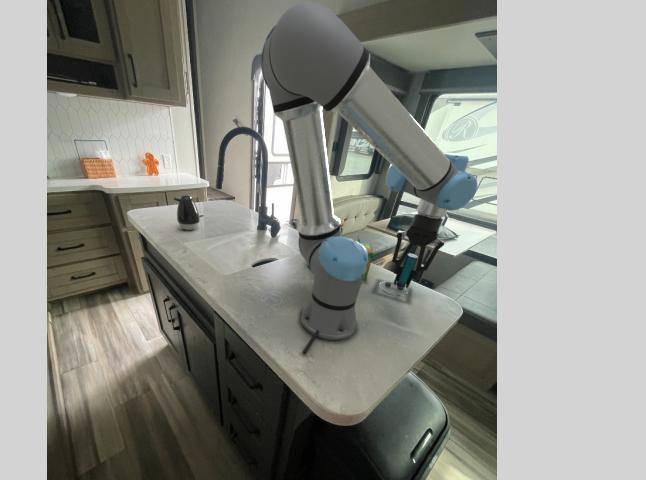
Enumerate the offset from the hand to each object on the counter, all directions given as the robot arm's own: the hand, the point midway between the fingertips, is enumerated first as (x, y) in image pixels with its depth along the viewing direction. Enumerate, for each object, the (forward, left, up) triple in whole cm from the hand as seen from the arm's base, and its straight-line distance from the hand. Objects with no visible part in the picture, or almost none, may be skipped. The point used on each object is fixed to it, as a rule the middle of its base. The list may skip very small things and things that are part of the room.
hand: (401, 284), depth 90 cm
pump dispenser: (+3, +96, -3) cm, 96 cm away
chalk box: (+3, +17, -4) cm, 17 cm away
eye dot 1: (0, +4, -2) cm, 4 cm away
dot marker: (0, 0, -1) cm, 1 cm away
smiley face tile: (0, +2, -4) cm, 4 cm away
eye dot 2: (0, 0, -2) cm, 2 cm away
